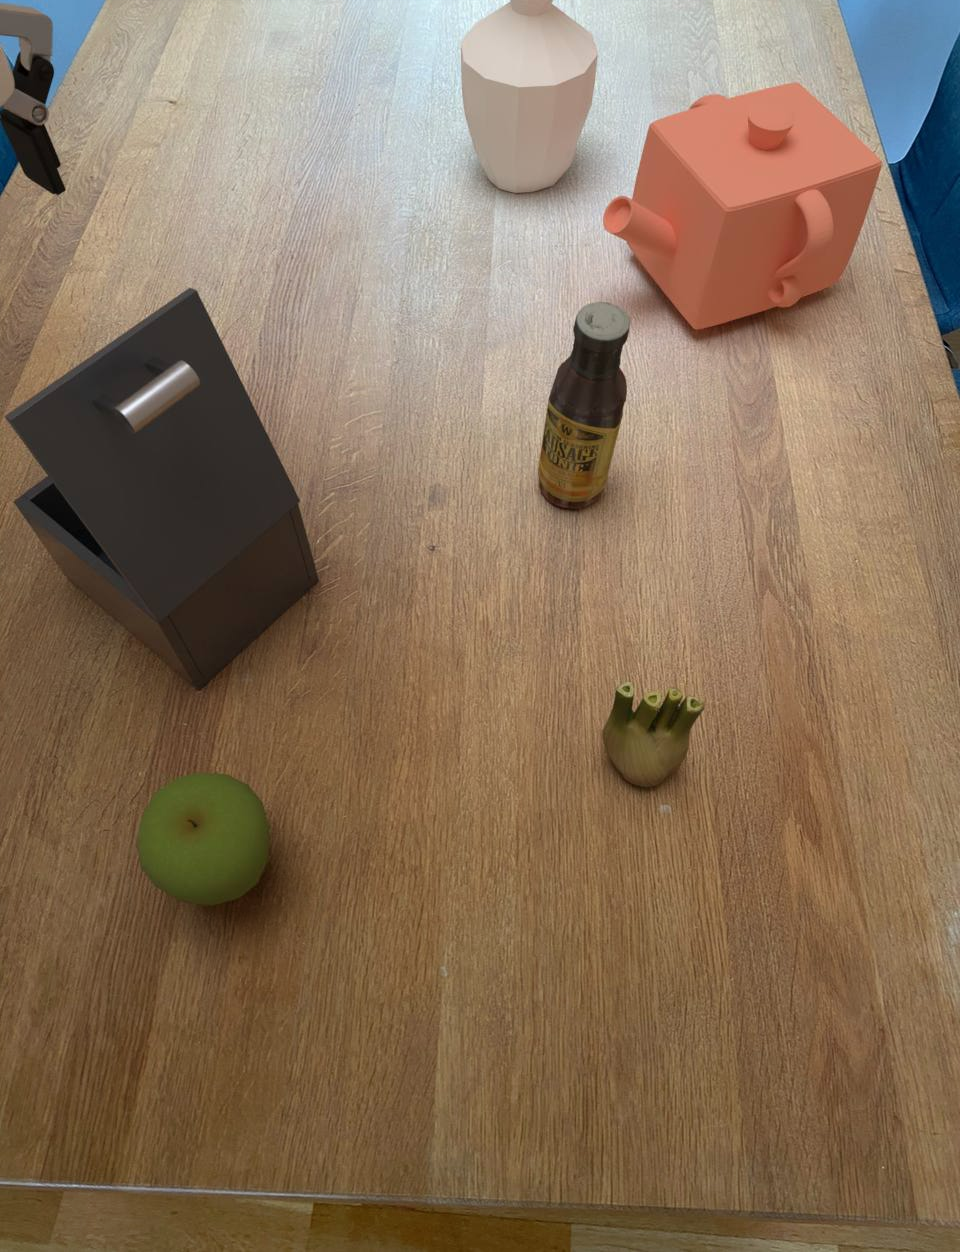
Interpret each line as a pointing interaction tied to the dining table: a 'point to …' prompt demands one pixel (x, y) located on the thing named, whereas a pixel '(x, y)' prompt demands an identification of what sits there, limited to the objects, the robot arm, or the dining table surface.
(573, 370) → the sauce bottle
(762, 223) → the teapot
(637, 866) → the dining table surface
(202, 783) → the apple
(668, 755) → the fennel bulb
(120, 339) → the lid
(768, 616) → the dining table surface
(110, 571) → the chest
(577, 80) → the vase
